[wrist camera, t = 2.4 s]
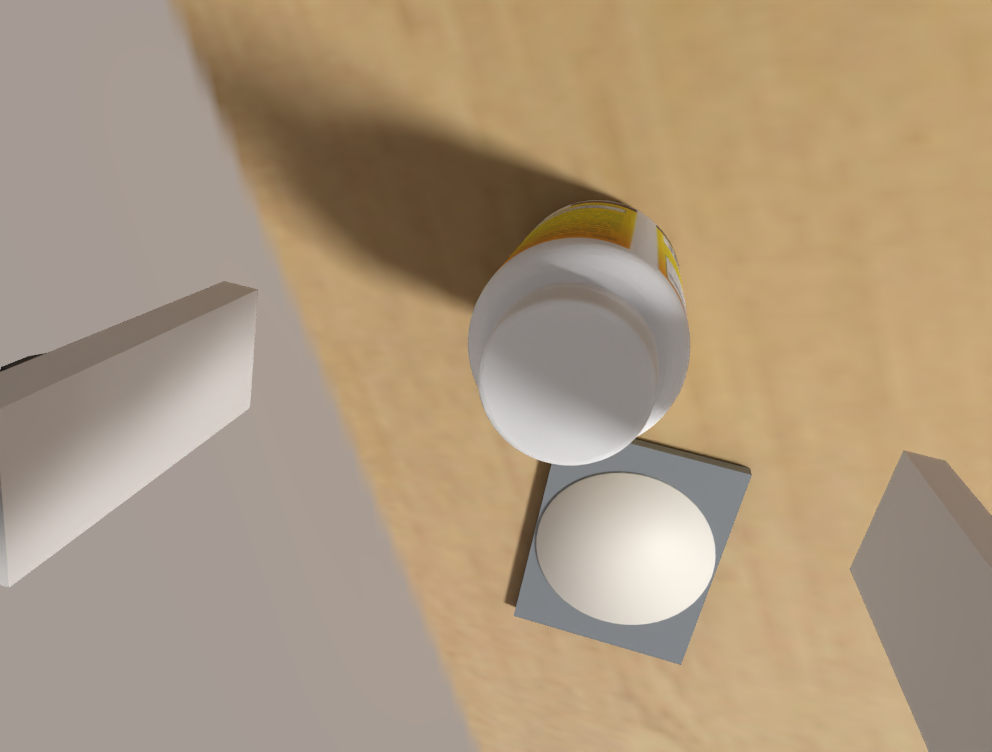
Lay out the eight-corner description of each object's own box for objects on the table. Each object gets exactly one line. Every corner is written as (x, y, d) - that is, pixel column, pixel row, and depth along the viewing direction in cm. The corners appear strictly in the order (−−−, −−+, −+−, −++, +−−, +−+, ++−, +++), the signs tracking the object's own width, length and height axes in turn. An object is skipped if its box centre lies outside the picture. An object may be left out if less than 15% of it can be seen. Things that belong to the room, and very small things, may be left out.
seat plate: (562, 420, 27) (560, 426, 27) (749, 468, 27) (752, 476, 26) (515, 608, 31) (513, 617, 30) (680, 655, 30) (680, 666, 29)
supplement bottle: (486, 284, 26) (392, 388, 17) (592, 161, 24) (551, 202, 15) (602, 385, 27) (573, 542, 17) (716, 274, 24) (754, 384, 15)
